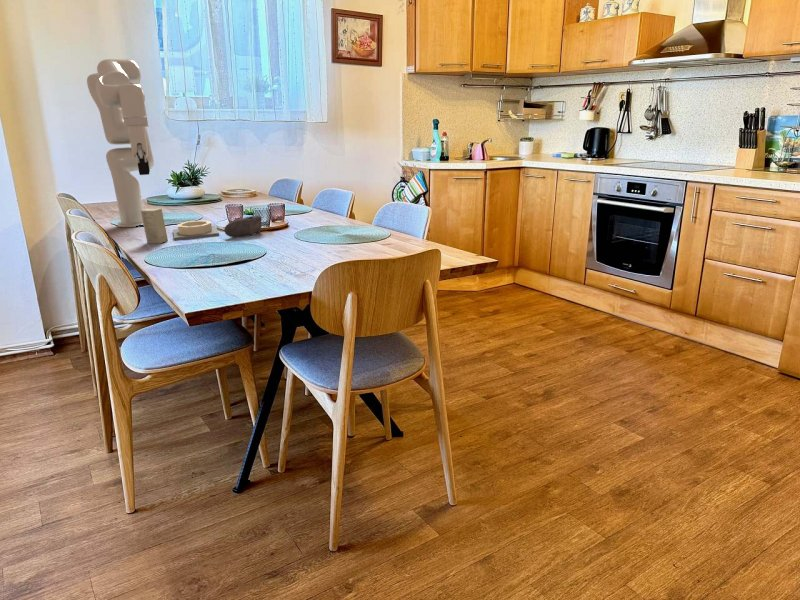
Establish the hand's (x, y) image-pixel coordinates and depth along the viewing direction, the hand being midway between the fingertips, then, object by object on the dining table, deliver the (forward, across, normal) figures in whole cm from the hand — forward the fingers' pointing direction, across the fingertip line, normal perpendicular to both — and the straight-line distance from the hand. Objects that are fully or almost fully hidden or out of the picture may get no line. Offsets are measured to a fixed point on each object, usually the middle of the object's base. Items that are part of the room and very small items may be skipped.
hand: (144, 173), depth 198 cm
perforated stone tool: (+25, +5, +31) cm, 40 cm away
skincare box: (+25, 0, 0) cm, 25 cm away
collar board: (+25, -8, +14) cm, 30 cm away
